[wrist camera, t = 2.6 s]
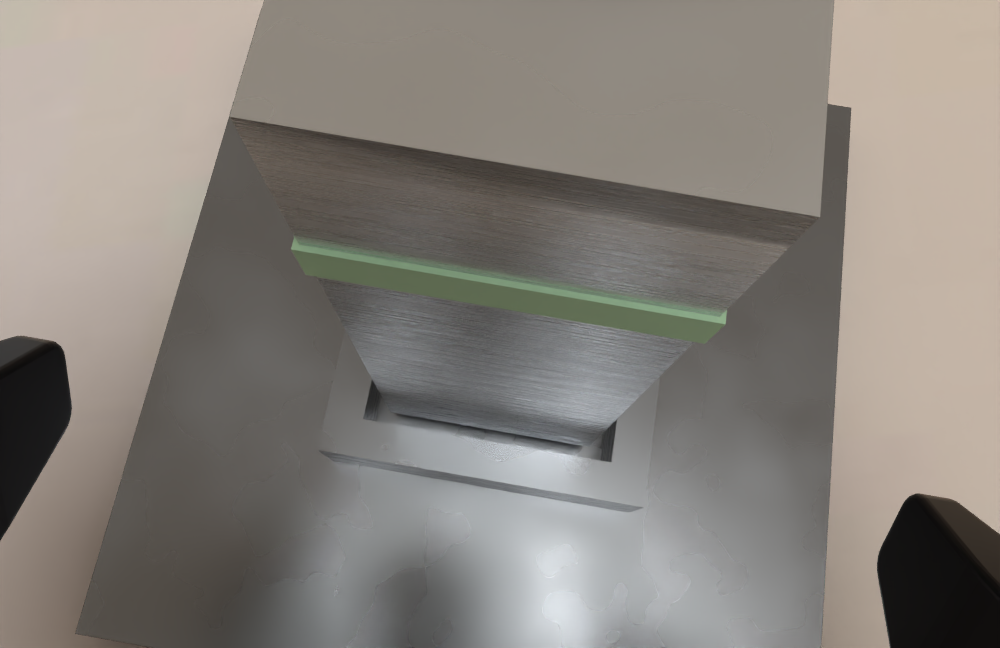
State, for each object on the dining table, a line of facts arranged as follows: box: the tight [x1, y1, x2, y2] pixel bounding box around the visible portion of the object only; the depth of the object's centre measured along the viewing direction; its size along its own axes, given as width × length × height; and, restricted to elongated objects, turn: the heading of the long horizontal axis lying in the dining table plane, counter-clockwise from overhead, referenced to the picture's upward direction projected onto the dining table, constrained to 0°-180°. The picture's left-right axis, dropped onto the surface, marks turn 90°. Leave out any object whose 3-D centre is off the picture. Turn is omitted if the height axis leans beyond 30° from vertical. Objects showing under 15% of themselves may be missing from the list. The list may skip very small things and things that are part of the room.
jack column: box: [230, 0, 834, 447], centre depth 13 cm, size 5×5×13 cm
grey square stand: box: [75, 12, 851, 648], centre depth 12 cm, size 16×16×18 cm
